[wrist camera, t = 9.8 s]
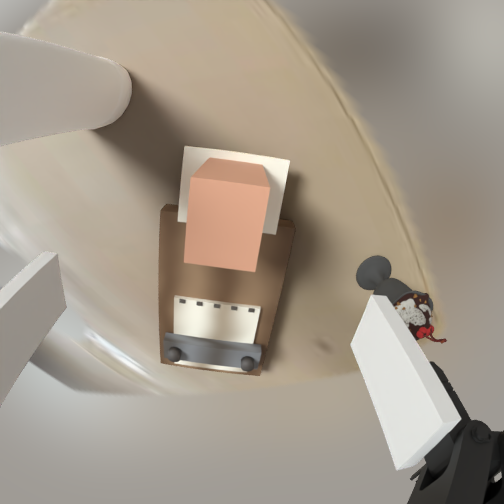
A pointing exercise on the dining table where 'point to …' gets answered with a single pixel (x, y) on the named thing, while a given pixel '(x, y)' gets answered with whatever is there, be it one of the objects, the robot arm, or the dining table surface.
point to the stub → (229, 205)
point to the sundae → (398, 296)
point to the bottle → (56, 89)
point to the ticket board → (218, 302)
